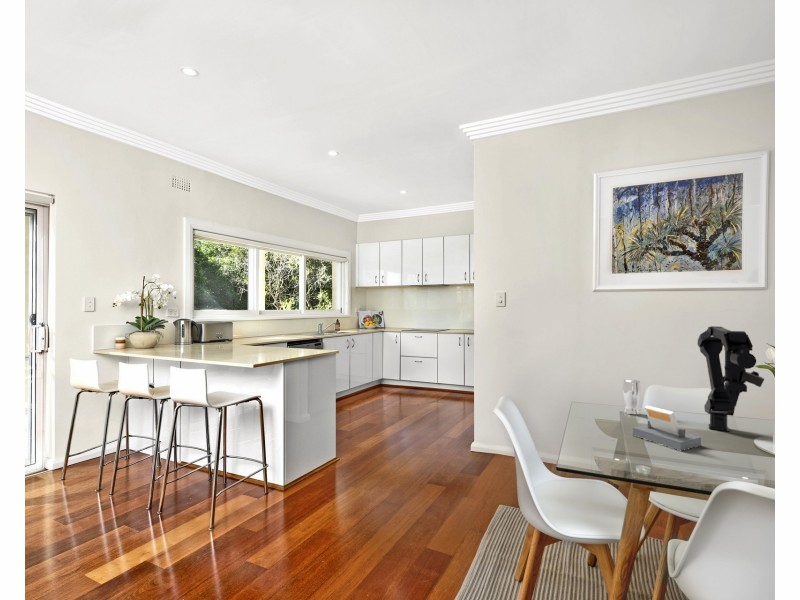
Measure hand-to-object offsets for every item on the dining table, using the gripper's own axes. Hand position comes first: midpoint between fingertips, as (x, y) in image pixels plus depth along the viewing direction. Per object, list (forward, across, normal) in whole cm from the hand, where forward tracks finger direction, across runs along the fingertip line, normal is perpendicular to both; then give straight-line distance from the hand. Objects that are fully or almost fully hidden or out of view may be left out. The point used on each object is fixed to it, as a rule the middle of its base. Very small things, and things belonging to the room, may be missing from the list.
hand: (733, 405), depth 161 cm
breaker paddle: (+9, -15, +21) cm, 27 cm away
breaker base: (+13, -15, +21) cm, 29 cm away
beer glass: (+13, +19, +36) cm, 43 cm away
